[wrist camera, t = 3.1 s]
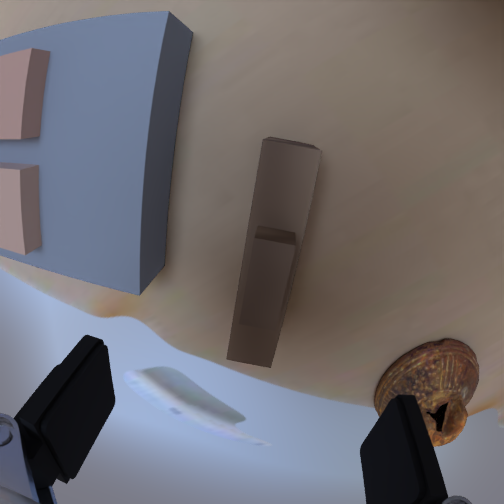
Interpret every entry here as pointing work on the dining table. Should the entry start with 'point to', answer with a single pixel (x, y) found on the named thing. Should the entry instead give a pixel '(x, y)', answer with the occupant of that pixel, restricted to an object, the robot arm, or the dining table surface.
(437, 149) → the dining table surface
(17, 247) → the tile
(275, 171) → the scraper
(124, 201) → the board
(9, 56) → the tile
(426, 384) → the bell
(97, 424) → the robot arm
